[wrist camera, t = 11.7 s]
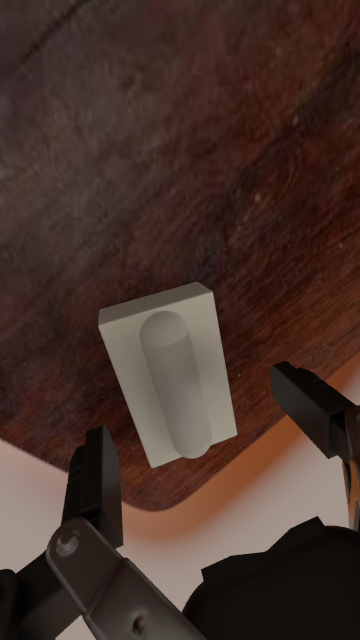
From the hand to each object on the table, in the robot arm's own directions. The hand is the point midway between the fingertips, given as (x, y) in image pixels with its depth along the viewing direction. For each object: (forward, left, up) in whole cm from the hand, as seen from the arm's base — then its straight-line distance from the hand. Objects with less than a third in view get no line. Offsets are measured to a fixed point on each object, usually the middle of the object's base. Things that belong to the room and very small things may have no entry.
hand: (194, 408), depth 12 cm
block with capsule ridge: (0, 0, -5) cm, 4 cm away
